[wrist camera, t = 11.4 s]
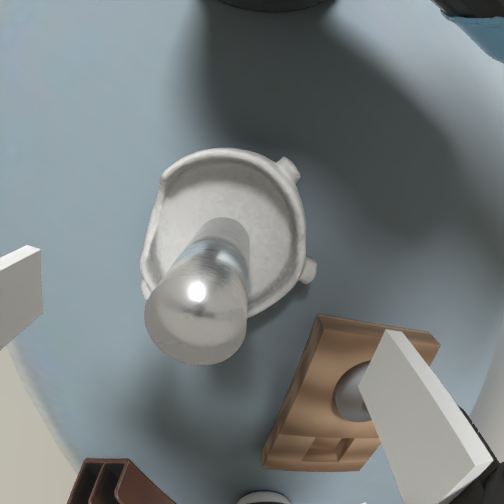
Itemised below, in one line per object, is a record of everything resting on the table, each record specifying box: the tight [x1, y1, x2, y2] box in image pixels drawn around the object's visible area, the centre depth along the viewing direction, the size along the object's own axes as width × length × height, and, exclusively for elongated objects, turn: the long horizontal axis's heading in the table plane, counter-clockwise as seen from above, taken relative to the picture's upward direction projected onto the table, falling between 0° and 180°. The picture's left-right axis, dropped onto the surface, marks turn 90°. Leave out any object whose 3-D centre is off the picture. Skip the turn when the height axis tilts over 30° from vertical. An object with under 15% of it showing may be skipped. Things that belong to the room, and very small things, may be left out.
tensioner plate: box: [261, 314, 440, 472], centre depth 30 cm, size 22×14×6 cm, turn 167°
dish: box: [140, 148, 317, 318], centre depth 25 cm, size 14×14×5 cm
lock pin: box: [144, 217, 250, 366], centre depth 17 cm, size 4×4×12 cm
